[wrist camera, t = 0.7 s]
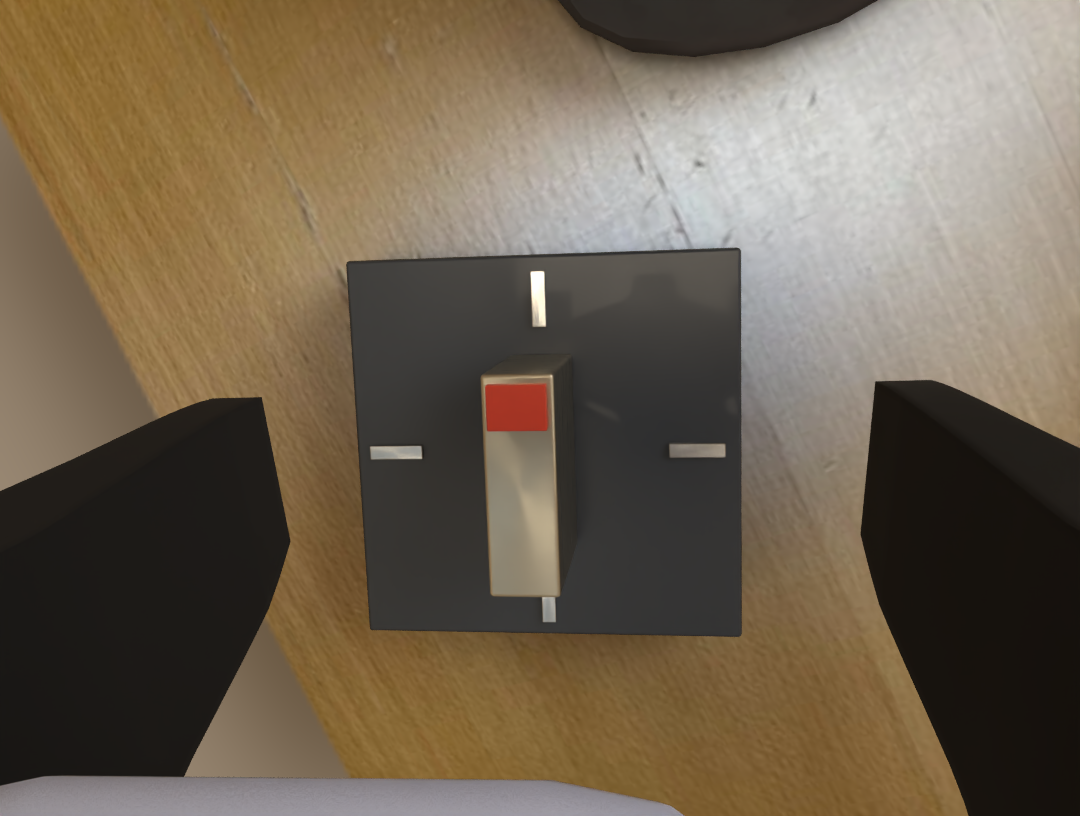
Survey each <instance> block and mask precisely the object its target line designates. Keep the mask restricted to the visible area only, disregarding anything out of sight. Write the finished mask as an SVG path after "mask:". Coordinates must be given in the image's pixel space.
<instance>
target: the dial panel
mask: <svg viewBox="0 0 1080 816" xmlns="http://www.w3.org/2000/svg"><path fill="white" fill-rule="evenodd" d="M346 267H347V282H348V298H349V313H350V328H351V344H352V359H353V375H354V390H355V405H356V421H357V436H358V451H359V467H360V482H361V497H362V513H363V528H364V543H365V559H366V574H367V590H368V605H369V620H370V629H371V630H402V631H457V632H511V633H565V634H619V635H673V636H727V637H739V636H741V634H742V543H741V250H740V248H711V249H683V250H654V251H625V252H597V253H568V254H539V255H511V256H482V257H453V258H425V259H396V260H368V261H349V262H347V264H346ZM550 354H569V355H571V357H572V378H573V412H574V446H575V480H576V514H577V545H576V548H575V551H574V554H573V558H572V561H571V564H570V567H569V570H568V573H567V576H566V580H565V583H564V586H563V589H562V592H561V595H560V596H559V597H501V596H491V594H490V584H489V561H488V539H487V516H486V494H485V471H484V449H483V426H482V404H481V381H480V378H481V375H483V374H484V373H486V372H487V371H489V370H490V369H492V368H493V367H495V366H496V365H498V364H499V363H501V362H502V361H504V360H505V359H507V358H508V357H510V356H512V355H550Z"/></svg>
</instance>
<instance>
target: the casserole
mask: <svg viewBox="0 0 1080 816" xmlns="http://www.w3.org/2000/svg"><path fill="white" fill-rule="evenodd" d="M558 1H559V2H560V3H561V4H562V6H563V7H564V8H565V9H566V10H567V12H568V13H569V14H570V15H571V16H572V17H573V19H574V20H575V21H576V22H577V23H578V25H579V26H580V27H581V28H584V29H586V30H588V31H590V32H592V33H594V34H596V35H598V36H601V37H603V38H605V39H607V40H609V41H611V42H613V43H615V44H617V45H620V46H622V47H624V48H626V49H628V50H630V51H632V52H642V53H654V54H666V55H678V56H690V57H696V56H703V55H710V54H718V53H725V52H732V51H739V50H746V49H754V48H761V47H766V46H769V45H772V44H775V43H778V42H781V41H784V40H787V39H790V38H793V37H796V36H799V35H802V34H805V33H808V32H811V31H814V30H817V29H820V28H823V27H826V26H829V25H832V24H835V23H838V22H840V21H842V20H844V19H845V18H847V17H849V16H851V15H852V14H854V13H856V12H858V11H859V10H861V9H863V8H865V7H867V6H868V5H870V4H872V3H874V2H875V1H877V0H558Z"/></svg>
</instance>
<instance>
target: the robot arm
mask: <svg viewBox="0 0 1080 816" xmlns="http://www.w3.org/2000/svg"><path fill="white" fill-rule="evenodd" d="M861 538H862V542H863V546H864V550H865V554H866V558H867V562H868V566H869V570H870V573H871V577H872V581H873V584H874V588H875V591H876V595H877V598H878V602H879V605H880V607H881V610H882V612H883V614H884V617H885V619H886V622H887V624H888V626H889V629H890V631H891V633H892V635H893V638H894V640H895V642H896V645H897V647H898V649H899V652H900V654H901V656H902V658H903V661H904V663H905V665H906V667H907V670H908V672H909V674H910V676H911V679H912V681H913V683H914V685H915V688H916V690H917V692H918V694H919V697H920V699H921V701H922V703H923V706H924V708H925V710H926V712H927V715H928V717H929V719H930V721H931V724H932V726H933V728H934V730H935V733H936V735H937V737H938V739H939V742H940V744H941V746H942V748H943V751H944V753H945V755H946V757H947V760H948V762H949V764H950V767H951V769H952V772H953V774H954V777H955V780H956V782H957V785H958V787H959V790H960V792H961V795H962V798H963V800H964V803H965V806H966V809H967V812H968V815H969V816H1080V448H1078V447H1076V446H1074V445H1072V444H1070V443H1068V442H1065V441H1063V440H1061V439H1059V438H1057V437H1055V436H1053V435H1051V434H1049V433H1047V432H1045V431H1042V430H1040V429H1038V428H1036V427H1034V426H1032V425H1030V424H1028V423H1026V422H1024V421H1022V420H1020V419H1018V418H1016V417H1014V416H1012V415H1010V414H1008V413H1006V412H1004V411H1002V410H1000V409H998V408H996V407H994V406H992V405H990V404H988V403H985V402H983V401H981V400H979V399H977V398H975V397H973V396H971V395H969V394H966V393H964V392H962V391H960V390H958V389H955V388H953V387H950V386H948V385H945V384H942V383H939V382H936V381H933V380H915V381H876V382H875V391H874V402H873V412H872V422H871V433H870V443H869V453H868V463H867V474H866V484H865V494H864V504H863V515H862V525H861ZM289 545H290V537H289V532H288V527H287V522H286V517H285V512H284V507H283V502H282V497H281V492H280V487H279V482H278V477H277V472H276V467H275V462H274V457H273V452H272V447H271V442H270V437H269V432H268V427H267V422H266V417H265V412H264V407H263V402H262V397H254V398H215V399H209V400H206V401H202V402H199V403H196V404H193V405H190V406H187V407H185V408H182V409H180V410H177V411H175V412H173V413H170V414H168V415H166V416H164V417H161V418H159V419H157V420H155V421H152V422H150V423H148V424H146V425H144V426H142V427H140V428H138V429H135V430H133V431H131V432H129V433H127V434H125V435H123V436H121V437H119V438H116V439H114V440H112V441H110V442H108V443H106V444H104V445H102V446H100V447H98V448H96V449H93V450H91V451H89V452H87V453H85V454H83V455H81V456H79V457H76V458H75V459H72V460H70V461H68V462H66V463H63V464H61V465H59V466H56V467H54V468H52V469H50V470H47V471H45V472H43V473H40V474H38V475H36V476H34V477H32V478H29V479H27V480H25V481H22V482H20V483H18V484H15V485H13V486H11V487H9V488H6V489H4V490H2V491H0V816H684V815H683V814H681V813H680V812H678V811H677V810H676V809H674V808H673V807H672V806H669V805H666V804H663V803H660V802H656V801H651V800H646V799H641V798H636V797H631V796H627V795H622V794H617V793H612V792H607V791H602V790H597V789H592V788H587V787H583V786H578V785H573V784H568V783H563V782H558V781H553V780H482V779H372V778H262V777H261V778H260V777H259V778H257V777H256V778H255V777H184V775H185V773H186V771H187V769H188V767H189V765H190V762H191V760H192V758H193V756H194V754H195V752H196V750H197V748H198V746H199V744H200V742H201V741H202V739H203V737H204V735H205V733H206V731H207V729H208V727H209V725H210V723H211V721H212V719H213V717H214V715H215V714H216V712H217V710H218V708H219V706H220V704H221V702H222V700H223V698H224V696H225V694H226V692H227V690H228V688H229V686H230V684H231V683H232V681H233V679H234V677H235V675H236V673H237V671H238V669H239V667H240V665H241V663H242V661H243V659H244V657H245V655H246V653H247V651H248V649H249V647H250V645H251V643H252V641H253V639H254V637H255V635H256V633H257V631H258V629H259V627H260V625H261V623H262V621H263V619H264V617H265V615H266V613H267V611H268V609H269V606H270V603H271V601H272V598H273V595H274V592H275V589H276V586H277V583H278V580H279V577H280V574H281V571H282V568H283V564H284V561H285V558H286V554H287V551H288V548H289Z"/></svg>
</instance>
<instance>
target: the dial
mask: <svg viewBox="0 0 1080 816" xmlns="http://www.w3.org/2000/svg"><path fill="white" fill-rule="evenodd" d="M480 381H481V404H482V426H483V449H484V471H485V494H486V516H487V539H488V561H489V584H490V594H491V596H501V597H559V596H560V595H561V592H562V589H563V586H564V583H565V580H566V576H567V573H568V570H569V567H570V564H571V561H572V558H573V554H574V551H575V548H576V545H577V514H576V480H575V446H574V412H573V378H572V357H571V355H569V354H550V355H512V356H510V357H508V358H507V359H505V360H504V361H502V362H501V363H499V364H498V365H496V366H495V367H493V368H492V369H490V370H489V371H487V372H486V373H484V374H483V375H481V378H480Z"/></svg>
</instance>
